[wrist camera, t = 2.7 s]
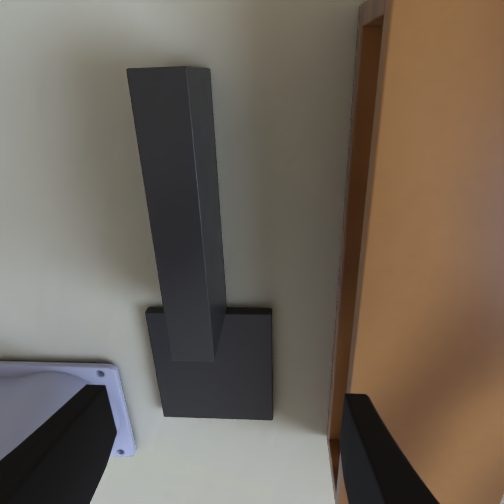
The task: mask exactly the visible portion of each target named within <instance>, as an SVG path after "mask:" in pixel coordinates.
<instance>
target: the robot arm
mask: <svg viewBox="0 0 504 504" xmlns="http://www.w3.org/2000/svg"><path fill="white" fill-rule="evenodd" d="M99 370H100V371H99ZM101 371H102V372H101ZM339 443H340V453H341V462H342V470H343V479H344V484H345V489H346V493H347V498H348V503H349V504H440V503H439V502H438V500H437V499H436V498H435V497H434V495H433V494H432V493H431V491H430V490H429V489H428V487H427V486H426V485H425V483H424V482H423V481H422V479H421V478H420V476H419V475H418V474H417V472H416V471H415V469H414V468H413V467H412V465H411V464H410V462H409V461H408V459H407V458H406V456H405V455H404V453H403V452H402V450H401V449H400V447H399V446H398V444H397V443H396V441H395V440H394V438H393V437H392V435H391V434H390V432H389V430H388V429H387V427H386V425H385V424H384V422H383V421H382V419H381V417H380V415H379V414H378V412H377V410H376V408H375V407H374V405H373V403H372V401H371V399H370V397H369V396H368V395H367V394H354V393H345V395H344V404H343V413H342V422H341V431H340V440H339ZM135 452H136V444H135V440H134V436H133V431H132V427H131V423H130V419H129V414H128V410H127V406H126V402H125V397H124V393H123V389H122V385H121V380H120V376H119V372H118V369H117V367H116V366H115V365H113V364H103V363H61V362H19V361H0V504H90V501H91V499H92V497H93V495H94V493H95V490H96V488H97V486H98V484H99V482H100V479H101V477H102V475H103V473H104V470H105V468H106V465H107V463H108V460H109V457H110V456H125V457H130V456H133V455H134V454H135Z"/></svg>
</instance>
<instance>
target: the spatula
mask: <svg viewBox="0 0 504 504" xmlns="http://www.w3.org/2000/svg"><path fill="white" fill-rule="evenodd" d="M126 71H127V77H128V83H129V90H130V96H131V103H132V109H133V116H134V122H135V129H136V135H137V141H138V148H139V154H140V161H141V167H142V174H143V180H144V187H145V193H146V199H147V206H148V212H149V219H150V225H151V232H152V238H153V244H154V251H155V257H156V264H157V270H158V277H159V283H160V290H161V296H162V302H163V307H149V308H148V309H147V311H146V313H145V314H146V319H147V325H148V331H149V336H150V342H151V347H152V353H153V358H154V364H155V369H156V375H157V380H158V386H159V391H160V397H161V403H162V408H163V414H164V416H165V417H191V418H220V419H249V420H273V364H272V309H253V308H227V302H226V288H225V274H224V259H223V245H222V231H221V217H220V203H219V188H218V174H217V160H216V146H215V132H214V117H213V103H212V89H211V75H210V69H209V68H199V67H188V66H181V67H154V68H128V69H127V70H126Z"/></svg>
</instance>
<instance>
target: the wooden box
mask: <svg viewBox="0 0 504 504" xmlns="http://www.w3.org/2000/svg"><path fill="white" fill-rule="evenodd" d="M345 393H354V394H367V395H368V396H369V397H370V399H371V401H372V403H373V405H374V407H375V408H376V410H377V412H378V414H379V415H380V417H381V419H382V421H383V422H384V424H385V425H386V427H387V429H388V430H389V432H390V434H391V435H392V437H393V438H394V440H395V441H396V443H397V444H398V446H399V447H400V449H401V450H402V452H403V453H404V455H405V456H406V458H407V459H408V461H409V462H410V464H411V465H412V467H413V468H414V469H415V471H416V472H417V474H418V475H419V476H420V478H421V479H422V481H423V482H424V483H425V485H426V486H427V487H428V489H429V490H430V491H431V493H432V494H433V495H434V497H435V498H436V499H437V500H438V502H439V503H440V504H500V502H501V499H502V497H503V494H504V0H366V1H365V2H364V3H363V4H362V5H360V7H359V19H358V32H357V45H356V58H355V71H354V84H353V98H352V111H351V124H350V137H349V150H348V163H347V177H346V190H345V203H344V216H343V229H342V242H341V256H340V269H339V282H338V295H337V308H336V321H335V335H334V348H333V361H332V374H331V387H330V400H329V414H328V427H327V443H328V451H329V459H330V467H331V475H332V482H333V490H334V498H335V504H349V503H348V498H347V493H346V489H345V484H344V479H343V470H342V462H341V453H340V443H339V440H340V431H341V422H342V413H343V404H344V395H345Z"/></svg>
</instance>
